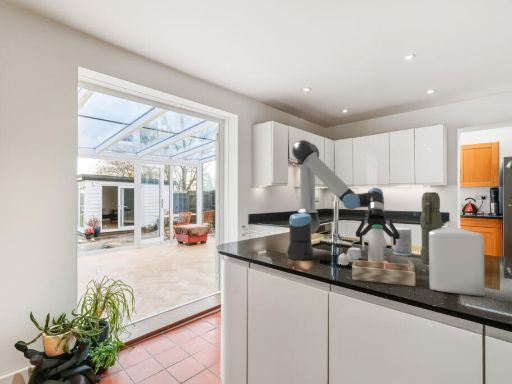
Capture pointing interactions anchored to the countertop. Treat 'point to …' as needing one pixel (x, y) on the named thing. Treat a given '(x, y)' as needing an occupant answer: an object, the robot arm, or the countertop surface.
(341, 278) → the countertop surface
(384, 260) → the pusher
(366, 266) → the wooden box
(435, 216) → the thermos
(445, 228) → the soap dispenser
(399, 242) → the supplement tub
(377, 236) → the milk bottle
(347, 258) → the container set
